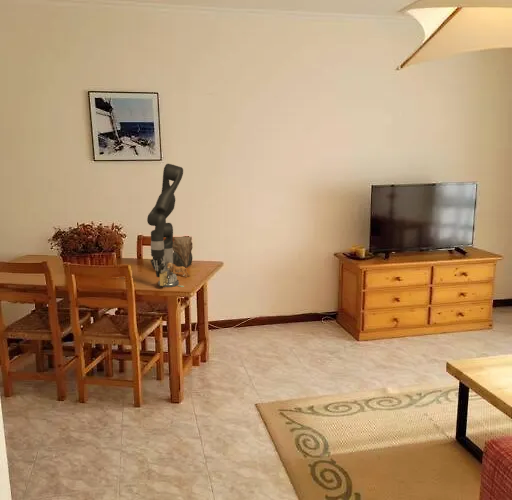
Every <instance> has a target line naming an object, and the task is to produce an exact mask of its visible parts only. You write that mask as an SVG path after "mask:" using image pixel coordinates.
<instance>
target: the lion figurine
mask: <svg viewBox="0 0 512 500" xmlns="http://www.w3.org/2000/svg"><path fill="white" fill-rule="evenodd" d="M167 269H168V270H170V272H173V274H176V273H182V277H184V278H187V277H188V276H189V277H190V276H191V275H190V274H189V273H188V271H187V268H185V267H183V266H182V267H177V266H176V265H174V264H173V263H168V264H167Z"/></svg>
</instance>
